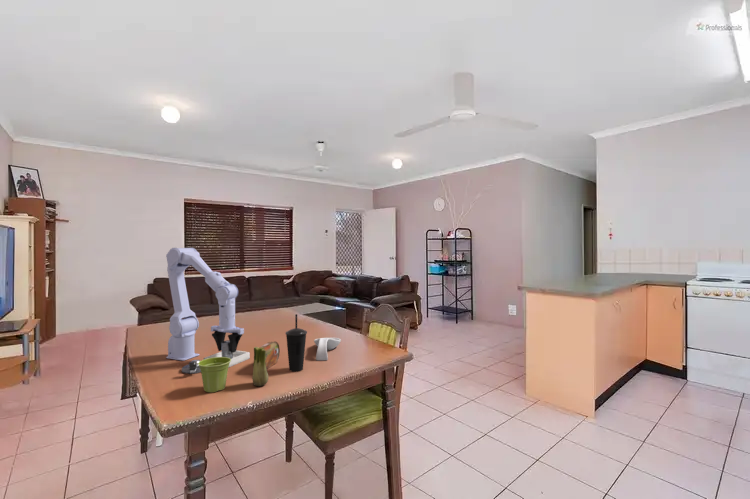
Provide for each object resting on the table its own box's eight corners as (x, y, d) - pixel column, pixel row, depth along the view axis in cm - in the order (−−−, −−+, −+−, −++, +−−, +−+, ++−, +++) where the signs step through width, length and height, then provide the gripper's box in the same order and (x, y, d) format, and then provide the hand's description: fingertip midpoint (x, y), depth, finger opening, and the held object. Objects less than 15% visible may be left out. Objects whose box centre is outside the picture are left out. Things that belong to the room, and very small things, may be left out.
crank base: (175, 371, 124) (175, 368, 124) (196, 364, 133) (196, 361, 133) (194, 375, 121) (194, 372, 121) (215, 366, 130) (215, 363, 130)
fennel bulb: (251, 382, 115) (251, 346, 115) (267, 380, 117) (267, 344, 117) (253, 389, 110) (253, 350, 110) (269, 386, 112) (269, 349, 112)
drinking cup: (310, 367, 130) (310, 313, 129) (299, 374, 122) (299, 317, 122) (292, 365, 132) (292, 312, 132) (281, 371, 125) (281, 315, 125)
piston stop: (219, 360, 135) (218, 342, 135) (228, 357, 139) (227, 339, 139) (226, 362, 133) (226, 343, 133) (235, 358, 137) (234, 341, 137)
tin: (260, 374, 123) (260, 350, 123) (252, 373, 123) (252, 349, 123) (280, 360, 138) (280, 339, 138) (273, 359, 138) (273, 338, 138)
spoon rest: (316, 344, 161) (316, 329, 161) (341, 344, 161) (341, 329, 161) (307, 361, 137) (307, 343, 137) (337, 361, 137) (337, 343, 137)
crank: (192, 364, 128) (192, 355, 128) (200, 364, 129) (200, 354, 129) (187, 373, 119) (187, 363, 119) (196, 372, 120) (196, 362, 120)
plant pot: (205, 383, 114) (205, 356, 114) (235, 382, 115) (234, 356, 115) (192, 395, 105) (192, 366, 105) (225, 394, 105) (225, 365, 105)
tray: (203, 364, 132) (203, 358, 132) (227, 355, 144) (227, 349, 144) (226, 368, 128) (226, 361, 128) (249, 358, 140) (249, 352, 140)
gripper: (204, 316, 135) (204, 351, 135) (234, 319, 130) (234, 356, 130) (218, 313, 141) (218, 347, 141) (247, 316, 136) (247, 350, 136)
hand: (227, 351), depth 136 cm, fingers open, 6 cm apart
